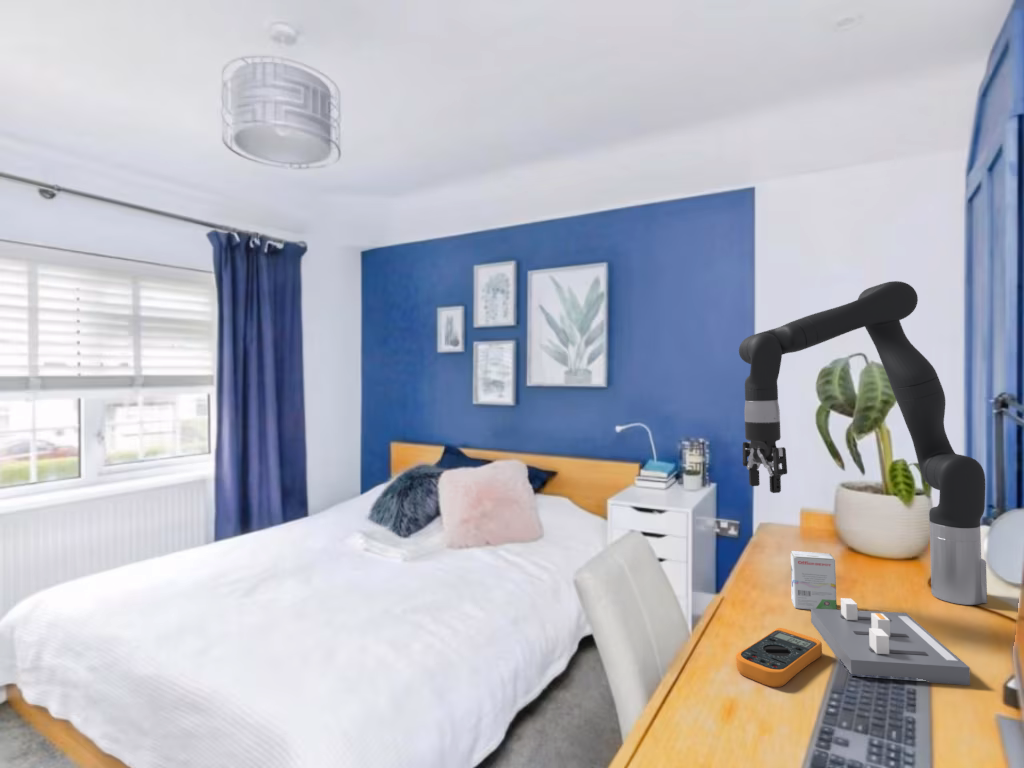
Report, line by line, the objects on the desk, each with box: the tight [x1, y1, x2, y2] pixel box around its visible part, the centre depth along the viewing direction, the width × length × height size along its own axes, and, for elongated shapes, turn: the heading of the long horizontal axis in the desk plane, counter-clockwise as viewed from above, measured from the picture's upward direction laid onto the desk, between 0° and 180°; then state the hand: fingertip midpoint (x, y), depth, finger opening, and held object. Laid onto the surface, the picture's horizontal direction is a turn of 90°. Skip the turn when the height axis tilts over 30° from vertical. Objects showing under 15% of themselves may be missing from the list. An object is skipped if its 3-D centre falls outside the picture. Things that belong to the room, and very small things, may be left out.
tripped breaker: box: [871, 613, 890, 637], centre depth 106 cm, size 2×3×3 cm, turn 168°
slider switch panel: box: [810, 608, 971, 686], centre depth 106 cm, size 18×22×3 cm
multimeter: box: [735, 627, 823, 688], centre depth 102 cm, size 9×18×3 cm, turn 129°
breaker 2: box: [869, 628, 889, 654], centre depth 100 cm, size 2×3×3 cm, turn 168°
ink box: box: [790, 550, 838, 611], centre depth 127 cm, size 9×5×12 cm, turn 71°
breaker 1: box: [840, 597, 858, 620], centre depth 114 cm, size 2×3×3 cm, turn 168°
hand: (764, 489), depth 130 cm, fingers open, 8 cm apart
